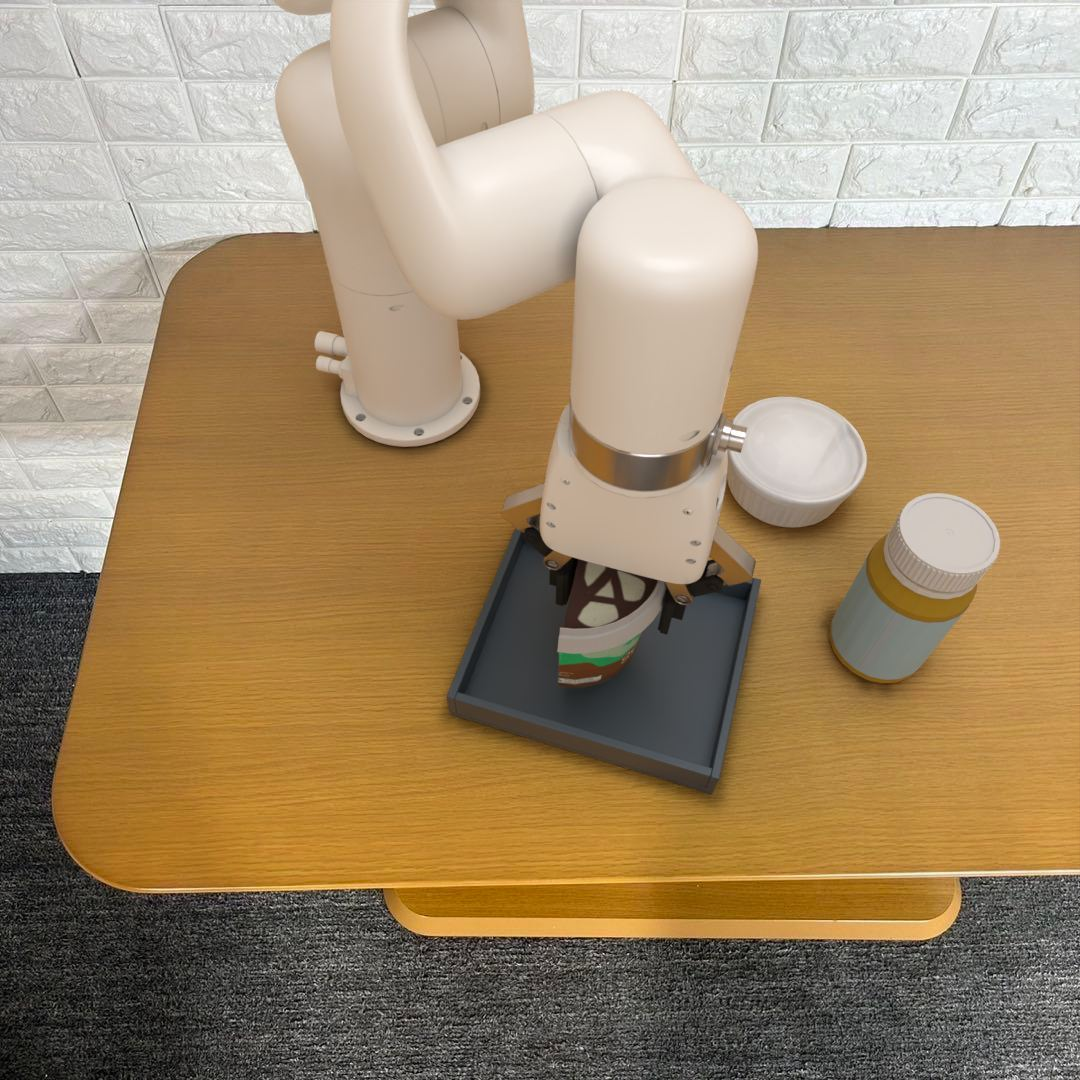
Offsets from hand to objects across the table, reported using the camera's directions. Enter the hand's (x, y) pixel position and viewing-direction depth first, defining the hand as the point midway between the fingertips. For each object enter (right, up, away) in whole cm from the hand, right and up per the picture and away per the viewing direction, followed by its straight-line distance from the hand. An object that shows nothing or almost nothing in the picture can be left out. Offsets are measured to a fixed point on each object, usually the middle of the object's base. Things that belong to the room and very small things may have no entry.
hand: (616, 600), depth 61 cm
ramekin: (+16, +9, +16) cm, 24 cm away
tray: (0, -5, +7) cm, 8 cm away
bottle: (+20, -4, +8) cm, 22 cm away
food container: (0, -3, +4) cm, 5 cm away
